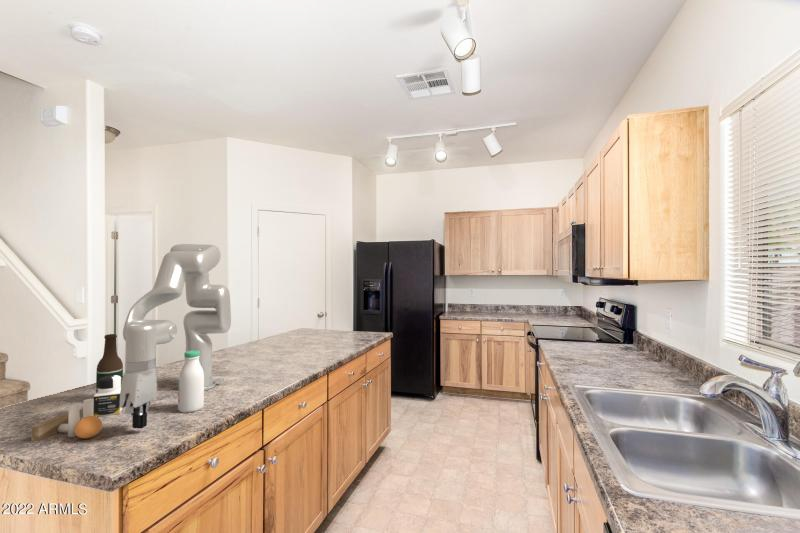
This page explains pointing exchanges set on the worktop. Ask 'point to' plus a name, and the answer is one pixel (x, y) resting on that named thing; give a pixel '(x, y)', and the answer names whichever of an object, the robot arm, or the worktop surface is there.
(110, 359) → the beer bottle
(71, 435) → the pin
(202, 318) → the robot arm
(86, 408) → the pin
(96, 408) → the medicine bottle
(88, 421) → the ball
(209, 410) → the worktop surface
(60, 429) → the pin front
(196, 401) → the milk bottle
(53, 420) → the bar
